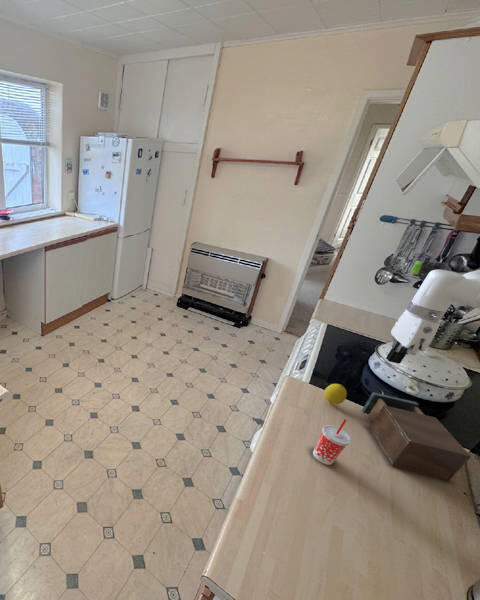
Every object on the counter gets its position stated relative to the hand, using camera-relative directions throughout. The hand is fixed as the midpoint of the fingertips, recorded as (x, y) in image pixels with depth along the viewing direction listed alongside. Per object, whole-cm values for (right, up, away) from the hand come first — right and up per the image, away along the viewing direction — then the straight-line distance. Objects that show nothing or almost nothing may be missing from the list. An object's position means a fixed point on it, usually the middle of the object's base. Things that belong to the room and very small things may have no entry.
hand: (392, 361), depth 103 cm
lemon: (-16, -15, +5) cm, 23 cm away
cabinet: (-8, -24, -12) cm, 28 cm away
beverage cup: (-34, -24, -15) cm, 44 cm away
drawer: (-5, -19, -4) cm, 20 cm away
